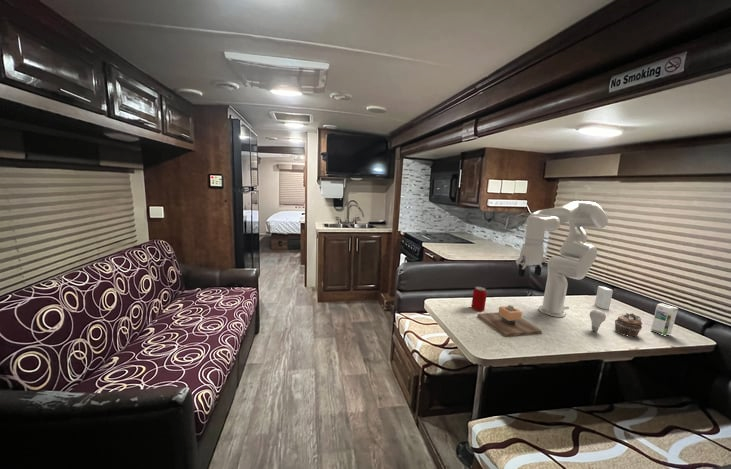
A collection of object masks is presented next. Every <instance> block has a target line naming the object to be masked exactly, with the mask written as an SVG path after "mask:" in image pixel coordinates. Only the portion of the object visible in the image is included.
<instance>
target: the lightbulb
mask: <svg viewBox="0 0 731 469" xmlns="http://www.w3.org/2000/svg"><path fill="white" fill-rule="evenodd" d="M606 318H607V316H606V313H605V312H604V311H602V309H597V308H595V309H592V310H591V311H590V312H589V319H590V322H591V323H590V324H591V327H590V328H591V330H592V331H593V332H598V331H599V328H600V327H601V325H602V324H603V323H604V322H605V320H606Z"/></svg>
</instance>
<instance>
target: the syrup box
mask: <svg viewBox="0 0 731 469" xmlns="http://www.w3.org/2000/svg"><path fill="white" fill-rule="evenodd" d="M678 310H679V308H678V307H675V306H671V305H670V304H666V303H658V304H656V307H655V312H654V317H653V320H652V323H651V327H650V330H651V331H654V332H657V333H660V334H663V335H669V334H671V335H672V332H673V328H674V325H675V321H676V317H677V314H678V313H677V312H678ZM651 331H650V332H651ZM654 332H653V333H654ZM657 333H656V334H657ZM669 336H670V335H669Z"/></svg>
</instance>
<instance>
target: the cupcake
mask: <svg viewBox="0 0 731 469" xmlns="http://www.w3.org/2000/svg"><path fill="white" fill-rule="evenodd" d="M642 325H643V322H642V318H641V317H640V316H639V315H636V314H634V313H633V312H632V313H628V312H626V313H624V314H621V315H620V316H618V317H617V319H615V320H614V328H615V329H614V330H616V331H617V332H616V331H615V332H616V333H618V332H619V333H618V334H620V333H622V334H625V335H628V336H637V337H638V335H639V333H640V331H641V330H642V327H643V326H642ZM622 334H621V335H622ZM625 335H624V336H625ZM628 336H627V337H628Z"/></svg>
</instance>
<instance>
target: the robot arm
mask: <svg viewBox="0 0 731 469" xmlns="http://www.w3.org/2000/svg"><path fill="white" fill-rule="evenodd" d="M608 218H609V217H608V214H606V212H605V211H604V210H603V208H602V207H601V205H599V204H598V203H596V202H593V201H583V200H581V201H579V200H575V201H574V200H573V201H570V202H567V203H566V204H563V205H561V206H557V207H551V208H545V209H540V210H537V211H534V212H532V213H530V214H529V215H528V216H527V218H526V228H525V229H526V230H525V231H526V232H525V238H524V239H525V240H524V243H523V245H522V246H521V249H520V253H519V257H518V258H517V259H516V260H515V263H516V266H517V268H518V274H517V275H518V276H519V277H521V278H525V274H526V267H527V266H535V267H534V271H533V272H534V275H536V276H539V277H540V276H541V275H542V269H543V268H544V265H545V264H546V261H547V258H546V257H545V256H544V241H545V240H544V238H545V232H555V231H557V230H558V229H559V228H560V227H561V224H565V223H568V227H569V228H568V229H569V233H568V235H567V237H566V238H565V240H564V242H563V243H562V245H561V247H560V249H559V254H560V255H559V256H558V255H554V256H552V257H550V258H549V259H548V261H547V279H546V283H545V290H544V294H543V300H542V305H539V306H538V311H540V312H541V313H543V314H545V315H548V316H551V317H555V318H564V317H565V316H566V312H565V310H569V309H570V306H569V305H565V302H566V296H567V290H568V285H569V284H568V280H567V278H570V279H574V280H582V279H584V278H585V277H586V276H587V274H588V273H589V271H590V269H591V267H592V265H593V264H594V262H595V261H596V258H597V255H598V249H597V247H596V246H594V245H592V244H589V243H586V242H587V240H588V234H587V232H586V231H585V229H584V228H589V229H590V228H591V229H596V230H597V229H598V230H601V229H603V228H606V226H607V224H608V222H609V220H608ZM566 277H567V278H566Z"/></svg>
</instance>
